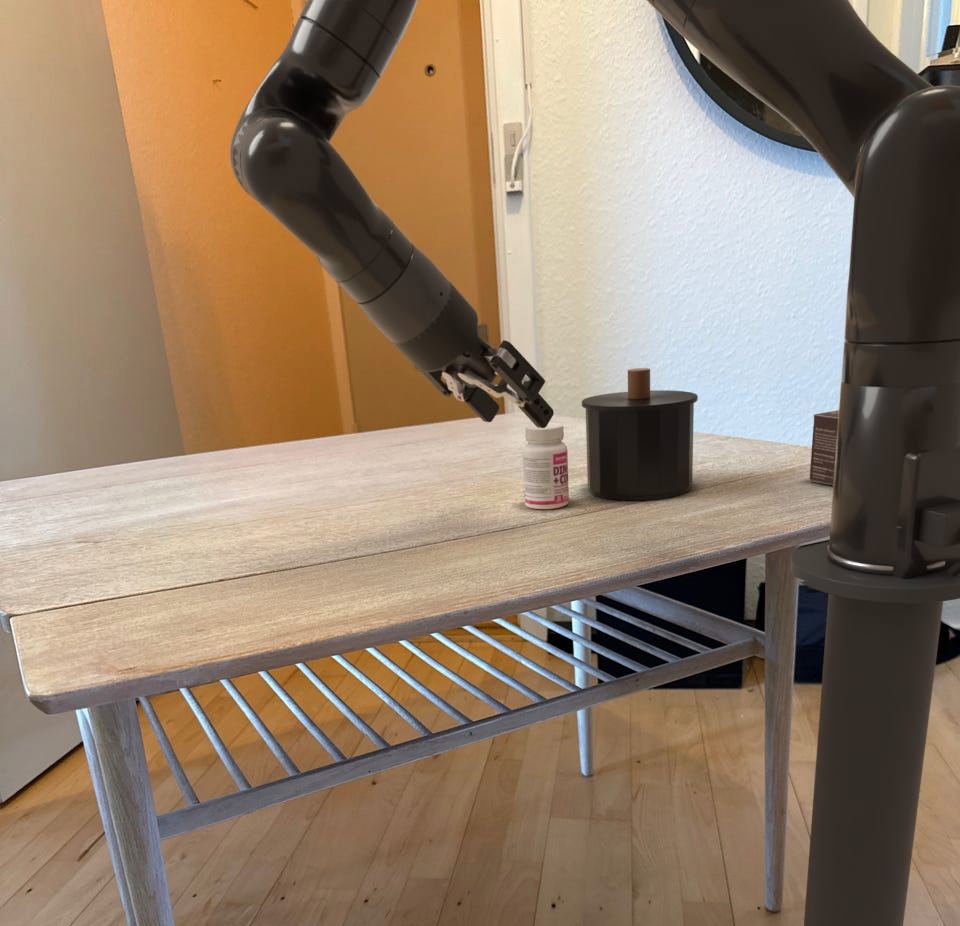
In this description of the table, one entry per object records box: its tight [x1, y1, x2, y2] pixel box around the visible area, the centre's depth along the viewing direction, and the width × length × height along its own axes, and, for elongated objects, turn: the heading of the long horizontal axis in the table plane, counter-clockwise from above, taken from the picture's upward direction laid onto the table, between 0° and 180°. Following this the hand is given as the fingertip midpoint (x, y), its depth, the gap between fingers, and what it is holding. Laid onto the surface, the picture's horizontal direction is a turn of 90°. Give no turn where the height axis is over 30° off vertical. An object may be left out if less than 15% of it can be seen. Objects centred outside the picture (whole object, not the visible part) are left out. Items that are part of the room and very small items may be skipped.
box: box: [809, 409, 839, 486], centre depth 98 cm, size 6×6×7 cm
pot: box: [585, 403, 695, 502], centre depth 101 cm, size 11×11×10 cm
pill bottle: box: [522, 422, 570, 510], centre depth 98 cm, size 5×5×8 cm
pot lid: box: [581, 367, 699, 411], centre depth 99 cm, size 12×12×4 cm
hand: (519, 418), depth 94 cm, fingers open, 8 cm apart
